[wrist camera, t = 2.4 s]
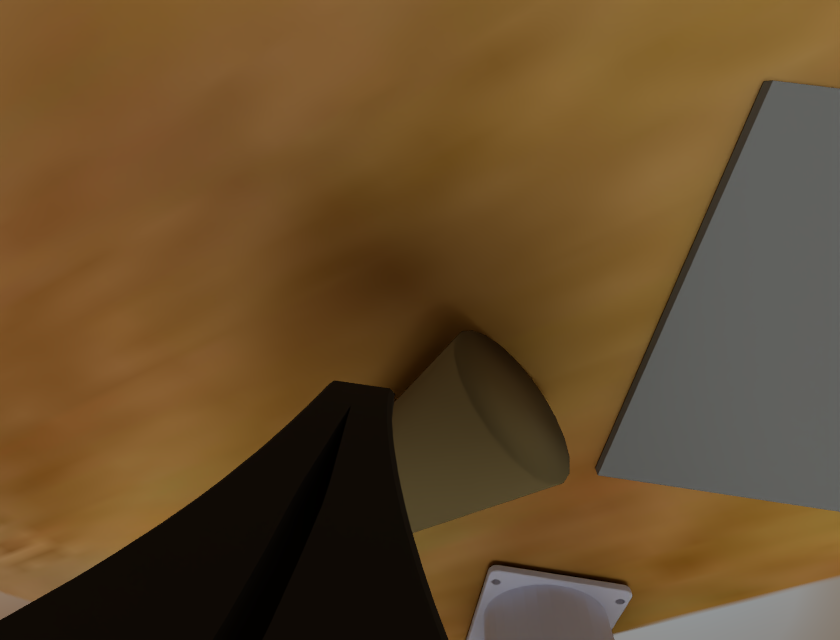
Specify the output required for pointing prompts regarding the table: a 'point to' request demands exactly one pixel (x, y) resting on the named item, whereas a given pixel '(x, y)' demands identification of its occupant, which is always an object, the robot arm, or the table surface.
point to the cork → (473, 434)
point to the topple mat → (751, 325)
